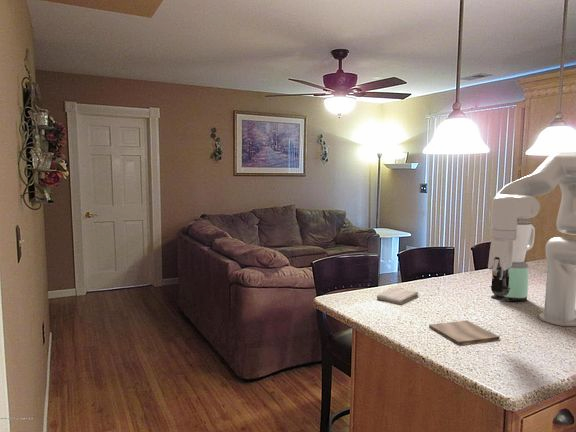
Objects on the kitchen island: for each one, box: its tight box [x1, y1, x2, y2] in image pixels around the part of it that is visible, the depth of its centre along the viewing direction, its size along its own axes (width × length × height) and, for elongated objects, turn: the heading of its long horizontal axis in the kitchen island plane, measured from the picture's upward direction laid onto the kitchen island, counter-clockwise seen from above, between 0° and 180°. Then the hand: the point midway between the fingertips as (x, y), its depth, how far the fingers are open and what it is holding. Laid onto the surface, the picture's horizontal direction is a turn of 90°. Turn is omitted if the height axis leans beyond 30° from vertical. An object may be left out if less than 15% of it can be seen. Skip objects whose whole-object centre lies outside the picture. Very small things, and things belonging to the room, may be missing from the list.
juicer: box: [493, 218, 536, 303], centre depth 187 cm, size 19×13×35 cm
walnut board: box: [428, 320, 500, 346], centre depth 148 cm, size 16×16×1 cm
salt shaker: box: [490, 268, 510, 302], centre depth 139 cm, size 6×6×12 cm
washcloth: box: [376, 286, 419, 305], centre depth 189 cm, size 12×18×3 cm, turn 140°
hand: (500, 288), depth 139 cm, fingers closed on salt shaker, 5 cm apart
